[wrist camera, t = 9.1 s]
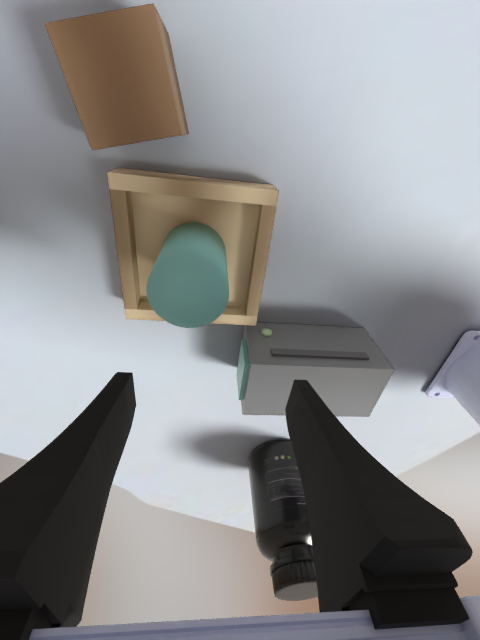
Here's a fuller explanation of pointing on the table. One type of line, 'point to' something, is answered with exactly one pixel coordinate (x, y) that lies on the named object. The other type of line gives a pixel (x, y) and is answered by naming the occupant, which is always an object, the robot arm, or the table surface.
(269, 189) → the birch tray
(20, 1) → the table surface
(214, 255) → the teal peg
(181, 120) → the walnut block
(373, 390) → the gray block
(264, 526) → the supplement bottle
